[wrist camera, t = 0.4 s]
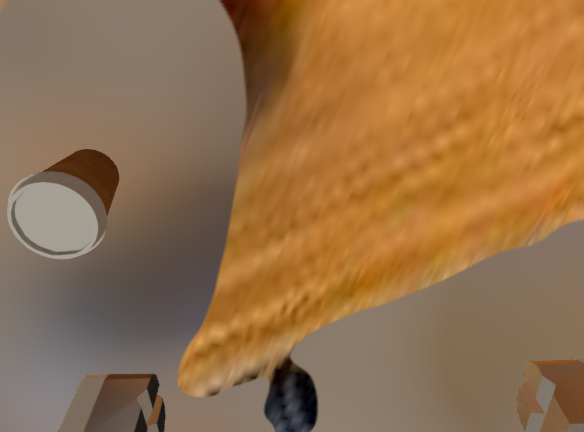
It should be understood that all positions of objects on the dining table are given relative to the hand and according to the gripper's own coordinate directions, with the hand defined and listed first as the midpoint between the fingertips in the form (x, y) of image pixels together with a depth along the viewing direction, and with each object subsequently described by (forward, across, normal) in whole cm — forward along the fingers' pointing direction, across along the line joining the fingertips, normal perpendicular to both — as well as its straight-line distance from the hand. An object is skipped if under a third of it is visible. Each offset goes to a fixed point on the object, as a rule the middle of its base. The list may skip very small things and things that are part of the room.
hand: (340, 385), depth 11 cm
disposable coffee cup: (+46, +25, +16) cm, 55 cm away
